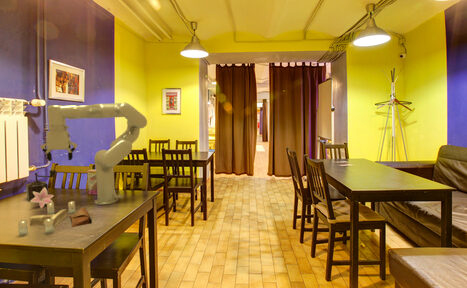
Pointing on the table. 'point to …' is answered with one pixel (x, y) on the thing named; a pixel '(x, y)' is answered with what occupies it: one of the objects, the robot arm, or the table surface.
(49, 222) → the light bulbs
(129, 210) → the table surface
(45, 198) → the lily
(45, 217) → the beige t-shaped block
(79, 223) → the sunglasses case
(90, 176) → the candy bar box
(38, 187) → the manual coffee grinder
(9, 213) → the table surface
